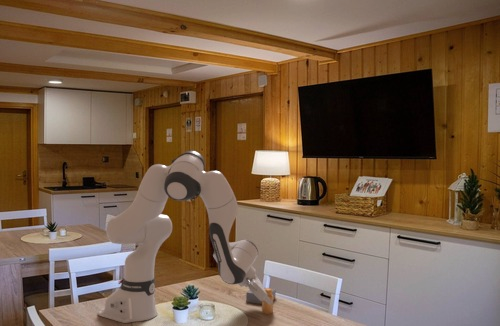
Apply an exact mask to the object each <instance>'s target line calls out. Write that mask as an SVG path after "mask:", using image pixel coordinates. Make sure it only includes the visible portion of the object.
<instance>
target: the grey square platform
mask: <svg viewBox="0 0 500 326" xmlns="http://www.w3.org/2000/svg"><path fill="white" fill-rule="evenodd" d="M265 288H266V287H264V289H265ZM269 288H270V287H269ZM270 289H272V295H273V301H274V300H275V299H276V290H277V289H276V288H270ZM245 295H246V300H245V301H246V303H253V304H259V305H262V301H260V300H259V299H258V298H257V297H256V296H255V295H254V294H253V293H252V292H251V291H250V289H249V290H248V291H247V292H246V294H245Z"/></svg>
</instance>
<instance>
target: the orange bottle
mask: <svg viewBox="0 0 500 326" xmlns="http://www.w3.org/2000/svg"><path fill="white" fill-rule="evenodd" d="M264 288H265V291H266V293H267V295H268V297H269V298H270V299H271V300H272V302H273V303H272V304H271V305H269V304H268V303H267V302H265V301H264V300H263V301H262V304H261V313H262V314H266V315H271V314H273V313H274V300H273V295H272V289H273V288H271V289H270V287H264Z"/></svg>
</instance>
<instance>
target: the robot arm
mask: <svg viewBox="0 0 500 326" xmlns="http://www.w3.org/2000/svg"><path fill="white" fill-rule="evenodd" d="M205 169H206V161H205V158H204V157H203V155H202V154H201V153H199V152H198V151H195V150H187V151H184V152H183V153H181V154H180V155H179V156H177V157H175V158H174V159H172V160H171V164H170V165H164V164H162V163H161V164H160V163H158V164H157V163H156V164H153V165H151V166H149V168H147V171H146V172H145V174H144V175H143V177H142V180H141V182H140V184H139V186H138V190H137V192H136V195H135V197H134V200H133V201H132V203H130V205H129V206H128V207H127V208H126V209H125V210H124V211H123V212H121V213H119V214H118V215H116V216H114V217H112V218H110V219H109V221H108V222H107V224H106V227H105V228H106V229H105V234H106V237H107V238H108V241H109V242H111V243H112V244H115V245H133V244H138V246H137V248H136V249H134V251H132V252H130V253H129V254H128V255H127V256H126V258H125V260H124V278H122V279H120V280H118V281H117V282H118V283H117V284H118V285H120V286H119V288H118V289H117V290H115V291H113V292H112V293H110V294H109V295H108V297H107V298H106V300H105V304H104V307H103V308H101V309H100V310H99V311H98V312H97V313H98V314H97V315H98V316H99V317H103V318H104V319H105V318H106V319H109V320H112V321H116V322H119V323H121V324H122V323H123V324H127V323H132V322H143V321H148V320H151V319H153V318H156V317H157V315H158V311H157V307H156V299H155V291H156V289H155V288H156V286H155V285H156V278H155V263H156V257H157V254H158V251H159V249H160V247H162V244H163V243H164V242H165V241H166V240H167V239H168V238H170V236H171V234H172V232H173V223H172V220H171V218H170V217H169V216H168V215H167V214H163V211H164V209H165V206H166V203H167V202H168V199H172V200H173V201H175V202H176V201H178V202H183V201H185V202H186V201H189V200H196V199H197V198H198V197H200V198H201V199H202V202H203V204H204V206H205V208H206V209H205V210H206V212H207V216H208V223H209V227H208V230H209V231H208V233H209V237H210V238H209V239H210V241H211V244H212V247H213V250H214V251H213V254H212V256H213V258H214V260H215V262H216V263H217V267H218V274H219V276H220V278H221V280H222V281H223V282H224V283H225V284H228V285H238V286H240V287H241V288H242V287H245V288H248V289H249V290H250V291H251V292H252V293H253V294H254V295H255V296H256V297H257V298H258V299H259V300H260V301H263V300H264V301H265V302H267V303H268V304H269V305H271V304H272V303H273V304H274V301H273V302H272V300H271V299H270V298H269V297H268V295H267V293H266V291H265V289H264V288H265V287H264V284H263V282H261V280H260V279H259V277H258V276H257V274H256V273H257V269H255V268H254V266H253V264H254V262H255V261H256V259H257V258H258V256H259V251H258V247H257V245H256V244H255V243H254V242H252V241H251V240H250V239H240V240H238V241H233V242H232V241H231V242H230V241H229V240H230V233H231V229H232V227H233V224H234V222H235V220H236V217H237V215H238V212H239V207H238V206H239V205H238V200H237V198H236V196H235V193H234V191H233V189H232V187H231V185H230V184H229V182H228V180H227V178H226V177H225V175H224V174H223V173H222V172H221V171H218V170H210V171H206V170H205Z"/></svg>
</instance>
